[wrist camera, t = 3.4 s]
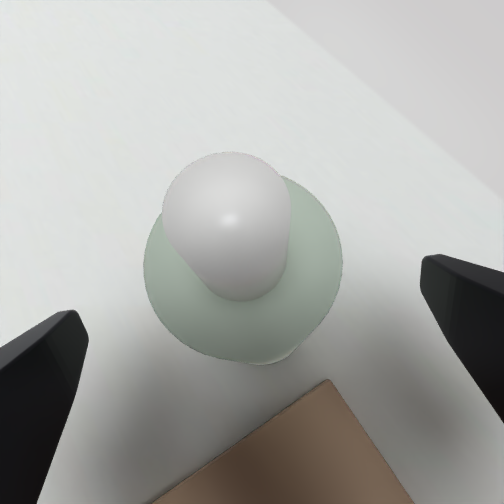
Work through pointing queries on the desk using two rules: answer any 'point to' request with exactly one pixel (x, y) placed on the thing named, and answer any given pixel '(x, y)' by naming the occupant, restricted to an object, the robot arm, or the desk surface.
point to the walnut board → (298, 461)
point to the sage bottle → (241, 260)
